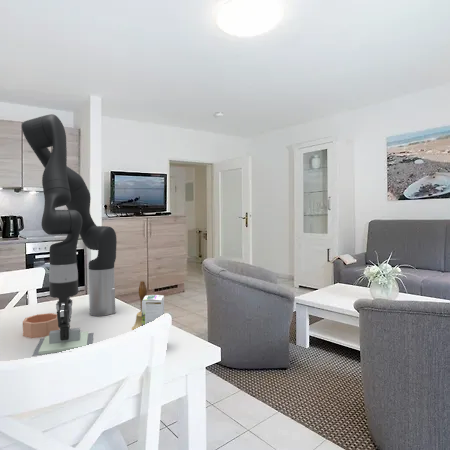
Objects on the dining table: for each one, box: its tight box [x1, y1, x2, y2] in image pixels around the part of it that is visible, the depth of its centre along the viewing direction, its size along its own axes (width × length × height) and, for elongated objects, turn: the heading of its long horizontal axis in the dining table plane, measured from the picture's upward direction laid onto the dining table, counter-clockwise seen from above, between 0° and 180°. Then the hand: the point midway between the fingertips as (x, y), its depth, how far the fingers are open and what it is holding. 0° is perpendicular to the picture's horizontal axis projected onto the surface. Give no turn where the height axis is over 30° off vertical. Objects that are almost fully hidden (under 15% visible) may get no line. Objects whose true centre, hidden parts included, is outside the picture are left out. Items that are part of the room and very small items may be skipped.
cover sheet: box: [38, 327, 89, 355], centre depth 99 cm, size 12×12×4 cm
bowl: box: [22, 312, 60, 339], centre depth 109 cm, size 10×10×5 cm
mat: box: [31, 332, 95, 357], centre depth 100 cm, size 15×13×1 cm
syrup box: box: [142, 294, 165, 326], centre depth 98 cm, size 6×6×14 cm
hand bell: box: [131, 280, 148, 331], centre depth 112 cm, size 8×8×16 cm
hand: (65, 337), depth 99 cm, fingers closed on cover sheet, 2 cm apart
